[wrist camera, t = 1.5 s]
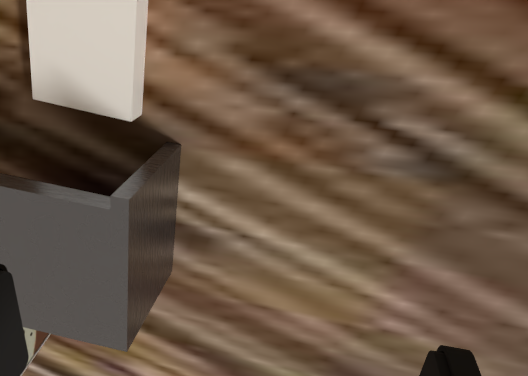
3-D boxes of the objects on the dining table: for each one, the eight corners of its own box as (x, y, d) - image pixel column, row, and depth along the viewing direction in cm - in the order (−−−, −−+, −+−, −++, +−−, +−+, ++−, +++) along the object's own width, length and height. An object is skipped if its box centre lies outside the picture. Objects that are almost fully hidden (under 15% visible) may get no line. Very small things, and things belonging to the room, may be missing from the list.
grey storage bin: (29, 113, 36) (-71, 157, 27) (180, 144, 35) (129, 200, 26) (42, 242, 42) (-37, 312, 33) (171, 271, 41) (126, 351, 32)
